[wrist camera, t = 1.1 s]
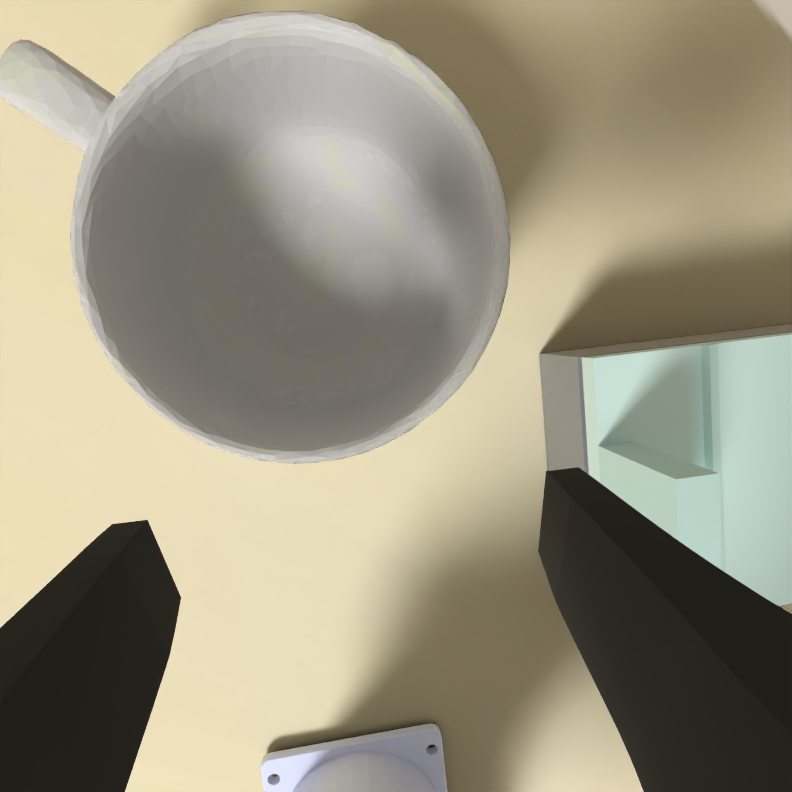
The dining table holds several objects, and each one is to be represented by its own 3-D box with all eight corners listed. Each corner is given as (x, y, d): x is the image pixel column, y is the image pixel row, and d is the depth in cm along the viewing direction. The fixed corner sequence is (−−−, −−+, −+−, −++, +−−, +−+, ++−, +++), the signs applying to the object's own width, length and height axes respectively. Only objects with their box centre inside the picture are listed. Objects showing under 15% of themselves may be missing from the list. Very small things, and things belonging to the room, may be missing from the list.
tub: (798, 322, 22) (882, 320, 19) (799, 535, 23) (878, 569, 20) (539, 353, 21) (577, 356, 17) (555, 574, 22) (593, 617, 19)
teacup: (501, 281, 20) (599, 247, 13) (323, 470, 21) (309, 553, 13) (244, 15, 18) (167, -229, 10) (48, 228, 19) (-174, 148, 11)
